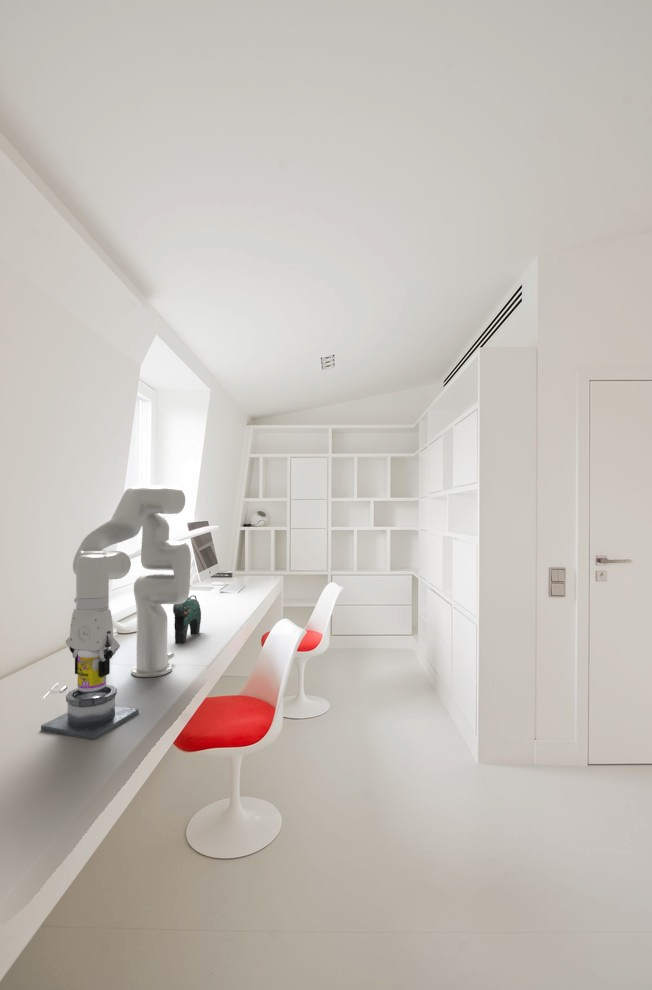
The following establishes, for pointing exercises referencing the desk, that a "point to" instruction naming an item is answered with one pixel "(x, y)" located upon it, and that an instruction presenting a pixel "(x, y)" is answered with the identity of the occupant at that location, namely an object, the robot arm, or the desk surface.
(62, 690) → the picture light
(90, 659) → the supplement bottle
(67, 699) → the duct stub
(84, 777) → the desk surface
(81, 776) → the desk surface
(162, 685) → the desk surface
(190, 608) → the green elephant figurine
